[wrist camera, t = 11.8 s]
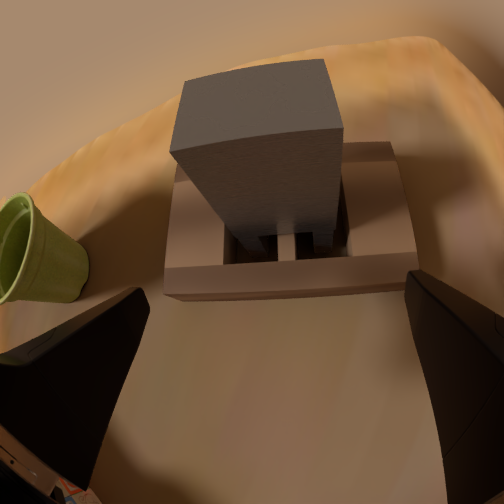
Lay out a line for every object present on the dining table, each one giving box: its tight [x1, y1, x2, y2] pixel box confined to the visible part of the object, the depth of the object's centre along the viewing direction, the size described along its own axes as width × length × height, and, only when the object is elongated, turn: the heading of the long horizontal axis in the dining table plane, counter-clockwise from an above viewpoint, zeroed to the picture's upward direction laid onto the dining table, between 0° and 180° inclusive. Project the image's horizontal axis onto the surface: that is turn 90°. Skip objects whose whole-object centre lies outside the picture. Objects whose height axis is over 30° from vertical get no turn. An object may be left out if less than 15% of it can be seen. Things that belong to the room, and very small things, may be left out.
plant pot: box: [0, 192, 89, 305], centre depth 21 cm, size 9×9×9 cm
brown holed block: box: [163, 142, 420, 301], centre depth 20 cm, size 10×16×3 cm, turn 90°
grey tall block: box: [169, 59, 344, 258], centre depth 15 cm, size 4×6×12 cm
